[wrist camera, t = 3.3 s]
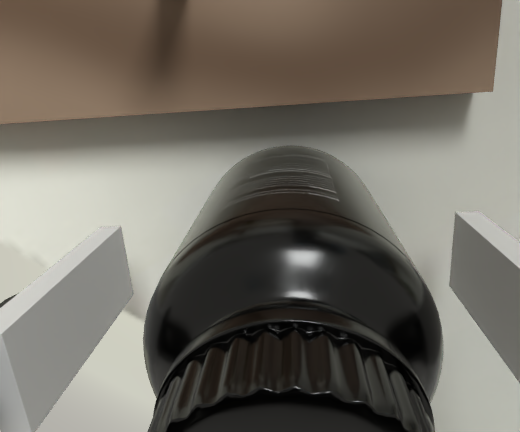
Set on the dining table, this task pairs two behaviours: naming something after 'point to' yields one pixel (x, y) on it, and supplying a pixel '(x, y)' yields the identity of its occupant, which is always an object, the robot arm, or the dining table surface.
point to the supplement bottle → (292, 309)
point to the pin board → (236, 54)
